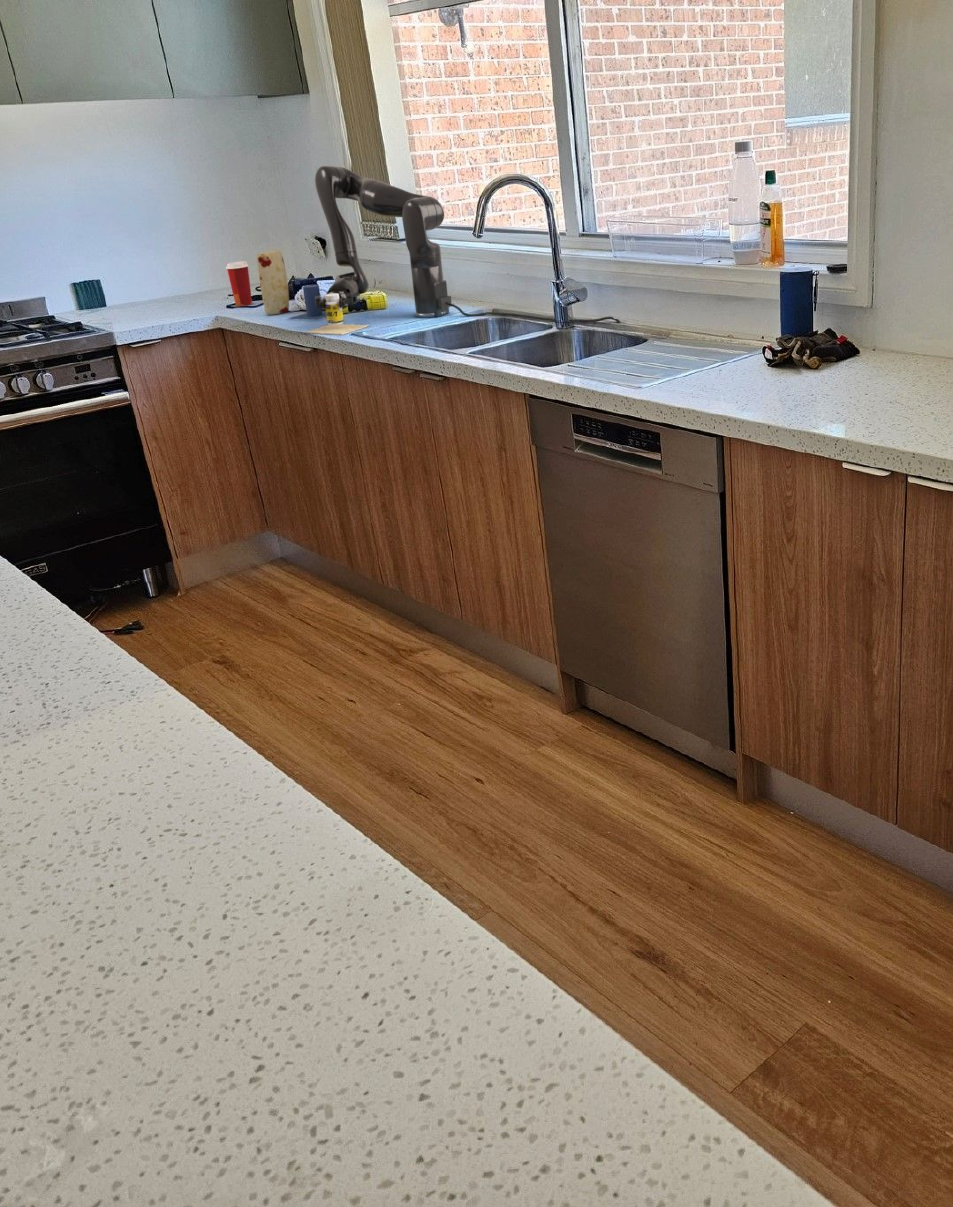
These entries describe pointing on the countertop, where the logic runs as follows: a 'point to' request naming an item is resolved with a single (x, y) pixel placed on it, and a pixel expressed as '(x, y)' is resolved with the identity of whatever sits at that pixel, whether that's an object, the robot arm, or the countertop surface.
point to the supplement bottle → (333, 309)
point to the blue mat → (304, 316)
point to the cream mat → (337, 329)
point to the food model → (273, 282)
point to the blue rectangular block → (312, 300)
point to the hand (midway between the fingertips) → (331, 304)
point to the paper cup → (240, 282)
